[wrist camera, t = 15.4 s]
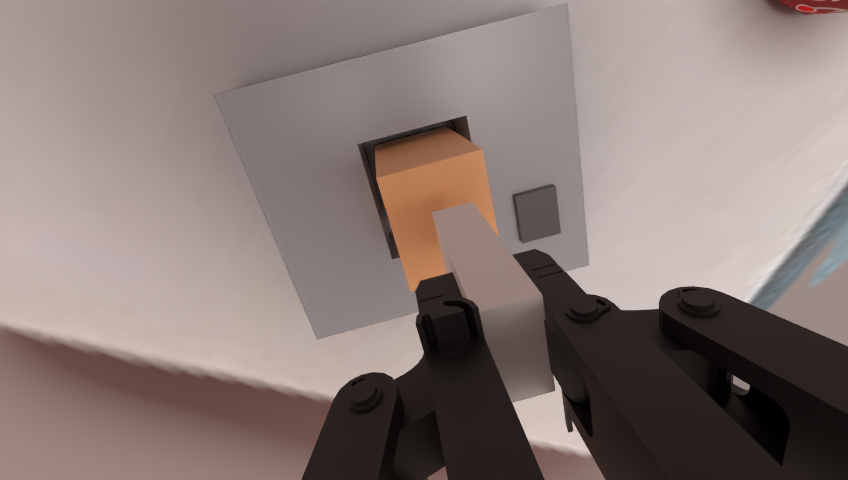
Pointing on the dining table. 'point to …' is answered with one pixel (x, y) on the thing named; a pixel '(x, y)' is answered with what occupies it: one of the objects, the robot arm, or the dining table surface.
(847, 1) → the smoothie
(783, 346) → the robot arm
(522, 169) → the socket box
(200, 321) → the dining table surface
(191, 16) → the dining table surface
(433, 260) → the plug
